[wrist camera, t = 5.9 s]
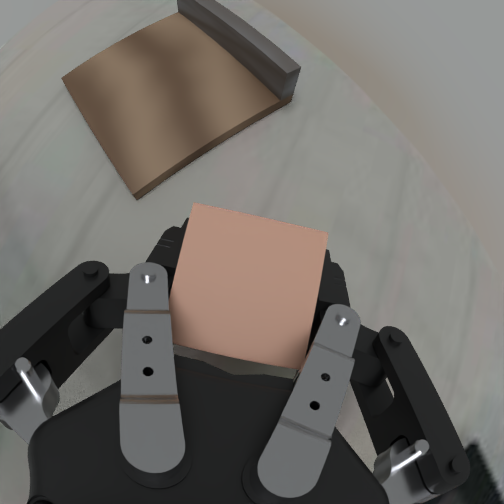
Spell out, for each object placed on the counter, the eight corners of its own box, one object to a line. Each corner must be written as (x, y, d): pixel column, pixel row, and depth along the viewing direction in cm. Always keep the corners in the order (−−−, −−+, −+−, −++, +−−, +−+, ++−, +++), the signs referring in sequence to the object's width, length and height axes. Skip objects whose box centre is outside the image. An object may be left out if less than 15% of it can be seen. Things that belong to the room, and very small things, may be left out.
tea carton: (192, 327, 18) (160, 339, 10) (210, 252, 19) (193, 202, 10) (272, 344, 19) (308, 371, 10) (287, 269, 19) (334, 234, 11)
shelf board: (137, 200, 20) (117, 175, 16) (65, 84, 21) (47, 56, 17) (292, 100, 22) (303, 66, 18) (192, 14, 23) (189, -18, 19)
